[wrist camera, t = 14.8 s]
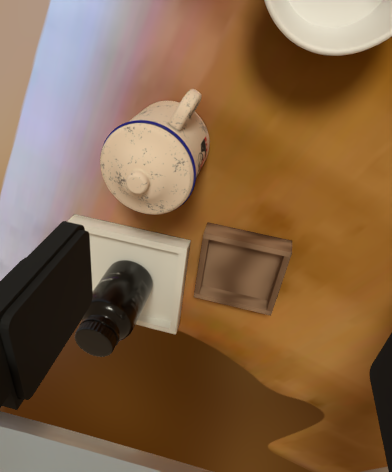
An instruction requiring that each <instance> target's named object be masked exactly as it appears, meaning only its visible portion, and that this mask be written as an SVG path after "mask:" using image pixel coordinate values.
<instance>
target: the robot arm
mask: <svg viewBox="0 0 392 472" xmlns="http://www.w3.org/2000/svg"><path fill="white" fill-rule="evenodd" d="M92 298H93V290H92V272H91V253H90V236H89V232H88V231H85V228H84V226H83V225H80V224H75V223H71V222H66V221H63V222H62V223H61V224H60V225H59V226H58V227H57V228H56V229H55V230H54V231H53V232H52V233H51V234H50V235H49V236H48V237H47V238H46V239H45V240H44V241H43V242H42V243H41V244H40V245H39V246H38V247H37V248H36V249H35V250H34V251H33V252H32V253H31V254H30V255H29V256H28V257H27V258H24V259H23V260H22V261H20V262H19V263H18V264H17V265H16V266H15V267H14V268H13V269H12V270H11V271H10V272H9V273H8V274H7V275H6V276H5V277H4V278H3V279H2V280H1V281H0V407H1V406H5V407H9V408H12V409H15V410H17V409H18V408H19V406H20V405H21V403H22V402H23V400H24V399H26V400H28V399H30V398H31V397H32V396H33V394H34V393H35V391H36V390H37V388H38V386H39V385H40V383H41V382H42V380H43V379H44V377H45V375H46V374H47V372H48V371H49V369H50V368H51V366H52V365H53V363H54V361H55V360H56V358H57V357H58V355H59V353H60V352H61V351H62V349H63V347H64V346H65V344H66V343H67V341H68V340H69V338H70V336H71V335H72V333H73V332H74V330H75V329H76V327H77V326H78V324H79V323H80V321H81V319H82V318H83V316H84V315H85V313H86V312H87V310H88V308H89V307H90V305H91V302H92ZM370 380H371V385H372V390H373V395H374V400H375V405H376V410H377V415H378V420H379V425H380V430H381V435H382V440H383V445H384V450H385V455H386V460H387V464H388V469H389V472H392V333H391V335H390V337H389V338H388V340H387V341H386V343H385V345H384V346H383V348H382V349H381V351H380V352H379V354H378V356H377V357H376V359H375V360H374V362H373V364H372V366H371V369H370ZM0 472H213V471H209V470H206V469H202V468H199V467H196V466H192V465H189V464H185V463H182V462H178V461H175V460H171V459H168V458H164V457H161V456H158V455H154V454H151V453H147V452H143V451H140V450H137V449H133V448H130V447H126V446H123V445H119V444H116V443H113V442H109V441H105V440H102V439H98V438H95V437H92V436H88V435H85V434H81V433H78V432H74V431H71V430H67V429H64V428H60V427H56V426H53V425H49V424H45V423H42V422H38V421H34V420H30V419H26V418H23V417H19V416H15V415H12V414H8V413H4V412H0Z"/></svg>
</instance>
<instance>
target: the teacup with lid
mask: <svg viewBox="0 0 392 472" xmlns="http://www.w3.org/2000/svg"><path fill="white" fill-rule="evenodd" d="M200 101H201V94H200V93H199V92H198V91H197V90H195V89H191V90H189V91H188V92H187V93H186V95H185V96H184V98H183V99H182V101H181V102H180V103H179V102H175V101H160V102H156V103H154V104H151V105H150V106H148V107H147V108H145V109H144V110H143V111H141V112H140V113H139V114H138V115H136V116H135V117H134V118H133V119H131V120H130V121H129V122H127V123H124V124H122V125H120V126H118V127H117V128H115V129H114V130H113V131H112V132H111V133H110V134H109V136H108V137H107V138H106V140H105V142H104V145H103V147H102V151H101V157H100V166H101V172H102V176H103V179H104V181H105V183H106V185H107V187H108V189H109V190H110V192H111V193H112V194H113V195H114V196H115V198H116V199H118V200H119V201H120V202H121V203H122V204H124V205H125V206H127V207H128V208H130V209H132V210H134V211H137V212H140V213H144V214H153V215H156V214H164V213H168V212H170V211H173V210H175V209H177V208H178V207H180V206H181V205H182V204H184V203H185V202H186V201H187V199H188V198H189V197H190V195H191V193H192V191H193V189H194V186H195V181H196V178H197V176H198V174H199V172H200V170H201V168H202V166H203V164H204V162H205V160H206V158H207V155H208V152H209V135H208V131H207V128H206V126H205V124H204V122H203V121H202V119H201V118H200V117H199V115H198V114H197V113H196V112H195V110H196V108H197V106H198V104H199V103H200Z"/></svg>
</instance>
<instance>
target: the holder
mask: <svg viewBox="0 0 392 472" xmlns="http://www.w3.org/2000/svg"><path fill="white" fill-rule="evenodd" d="M291 254H292V241H290V240H286V239H281V238H277V237H272V236H267V235H263V234H258V233H254V232H249V231H244V230H240V229H235V228H231V227H226V226H222V225H217V224H212V223H207V226H206V228H205V231H204V235H203V241H202V247H201V254H200V260H199V266H198V273H197V279H196V285H195V291H194V297H196V298H200V299H204V300H208V301H212V302H216V303H221V304H225V305H229V306H233V307H237V308H241V309H245V310H250V311H254V312H258V313H262V314H266V315H270V316H271V314H272V311H273V308H274V305H275V302H276V299H277V296H278V293H279V290H280V287H281V284H282V281H283V278H284V275H285V272H286V269H287V266H288V263H289V260H290V257H291Z"/></svg>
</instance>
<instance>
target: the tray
mask: <svg viewBox="0 0 392 472" xmlns="http://www.w3.org/2000/svg"><path fill="white" fill-rule="evenodd" d="M67 222H71V223H75V224H80V225H83V226H84V228H85V231H88V232H89V236H90V253H91V272H92V290H94V289H95V287H96V286H97V284H98V283H99V281H100V280H101V278H102V277H103V275H104V274H105V272H106V271H107V270H108V268H109V267H110V266H111V265H112V264H113V263H115V262H117V261H121V260H129V261H133V262H136V263H138V264H140V265H141V266H143V267H144V268H145V269H146V270H147V271H148V272H149V274H150V275H151V277H152V281H153V288H152V291H151V293H150V295H149V297H148V299H147V301H146V303H145V306H144V308H143V310H142V312H141V314H140V316H139V318H138V320H137V322H136V325H141V326H144V327H148V328H152V329H156V330H160V331H164V332H168V333H172V334H176V333H177V330H178V327H179V322H180V315H181V308H182V300H183V293H184V286H185V278H186V271H187V264H188V256H189V249H190V242H191V240H187V239H183V238H178V237H174V236H169V235H165V234H160V233H156V232H152V231H147V230H143V229H138V228H134V227H129V226H125V225H120V224H116V223H111V222H107V221H103V220H98V219H94V218H89V217H85V216H80V215H76V214H74V215H73V216H72V217H71V218H70V219H69V220H68V221H67Z"/></svg>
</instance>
